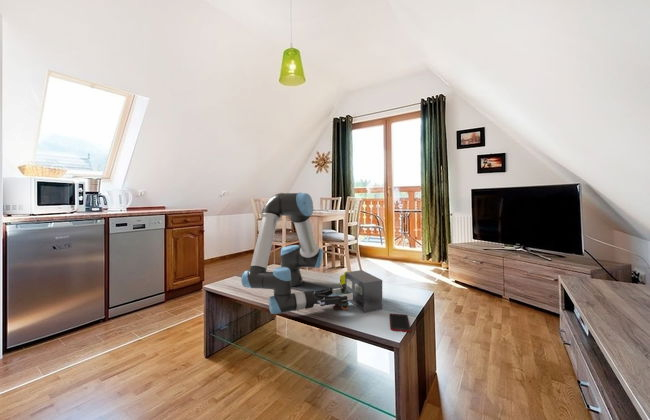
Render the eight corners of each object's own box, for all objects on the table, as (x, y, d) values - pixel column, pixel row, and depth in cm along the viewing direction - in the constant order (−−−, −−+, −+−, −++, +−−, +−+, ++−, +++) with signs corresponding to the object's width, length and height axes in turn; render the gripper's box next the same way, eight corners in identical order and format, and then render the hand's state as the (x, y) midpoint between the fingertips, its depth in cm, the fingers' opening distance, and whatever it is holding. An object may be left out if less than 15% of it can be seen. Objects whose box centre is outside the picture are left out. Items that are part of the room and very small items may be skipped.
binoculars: (329, 283, 131) (349, 282, 130) (331, 304, 132) (351, 303, 130) (326, 289, 123) (347, 288, 121) (328, 312, 123) (349, 311, 121)
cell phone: (390, 331, 104) (390, 329, 104) (389, 315, 118) (389, 313, 118) (410, 333, 102) (410, 331, 102) (407, 316, 117) (407, 314, 116)
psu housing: (344, 298, 137) (344, 272, 137) (361, 295, 141) (361, 270, 141) (363, 312, 120) (363, 282, 119) (382, 309, 124) (382, 280, 123)
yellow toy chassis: (367, 288, 153) (367, 274, 153) (363, 291, 148) (363, 276, 148) (344, 283, 162) (344, 270, 162) (339, 286, 158) (339, 272, 157)
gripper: (297, 300, 128) (339, 293, 137) (311, 317, 109) (358, 308, 118) (297, 285, 128) (339, 279, 136) (311, 300, 109) (358, 292, 117)
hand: (348, 293), depth 127 cm, fingers closed on binoculars, 8 cm apart
